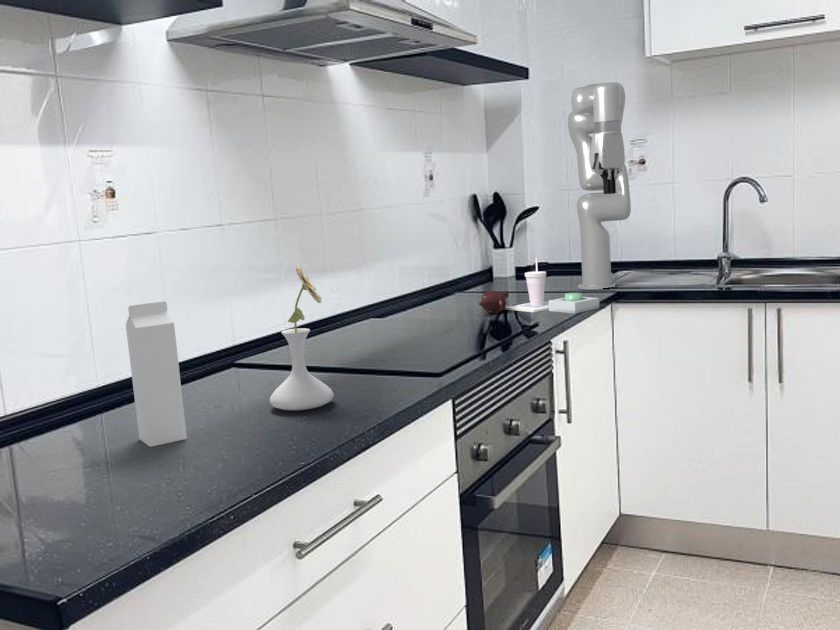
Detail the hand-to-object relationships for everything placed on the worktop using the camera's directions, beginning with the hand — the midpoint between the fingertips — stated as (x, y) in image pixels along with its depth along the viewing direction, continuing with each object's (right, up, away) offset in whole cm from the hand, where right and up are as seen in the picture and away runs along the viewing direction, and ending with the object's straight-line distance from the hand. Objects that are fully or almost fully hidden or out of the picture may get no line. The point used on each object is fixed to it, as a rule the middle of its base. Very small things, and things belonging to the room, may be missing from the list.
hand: (609, 193), depth 243 cm
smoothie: (-20, -32, +7) cm, 38 cm away
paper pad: (-20, -33, +6) cm, 39 cm away
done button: (-11, -32, -3) cm, 34 cm away
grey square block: (-11, -33, -3) cm, 35 cm away
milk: (-96, -55, -108) cm, 154 cm away
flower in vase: (-75, -51, -92) cm, 130 cm away
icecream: (-33, -35, +1) cm, 48 cm away
